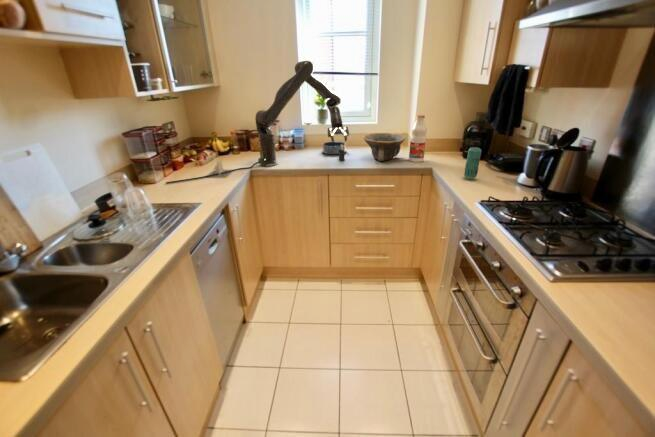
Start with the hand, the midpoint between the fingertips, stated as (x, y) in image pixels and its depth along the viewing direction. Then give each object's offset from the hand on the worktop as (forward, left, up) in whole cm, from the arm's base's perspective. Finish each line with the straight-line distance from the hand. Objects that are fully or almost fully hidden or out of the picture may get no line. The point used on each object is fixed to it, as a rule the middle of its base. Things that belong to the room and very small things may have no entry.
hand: (339, 141), depth 211 cm
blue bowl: (+6, +16, -11) cm, 20 cm away
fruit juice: (+37, -35, -11) cm, 52 cm away
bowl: (+22, -20, -11) cm, 32 cm away
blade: (-2, -6, -11) cm, 13 cm away
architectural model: (-78, +10, -11) cm, 80 cm away
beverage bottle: (+32, -79, -11) cm, 86 cm away
